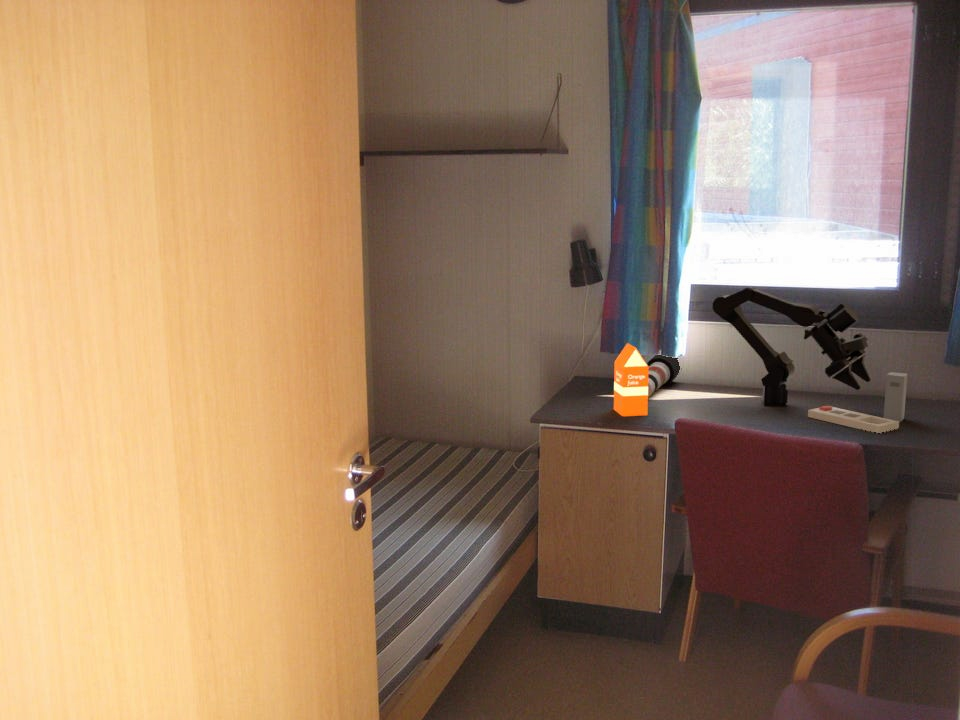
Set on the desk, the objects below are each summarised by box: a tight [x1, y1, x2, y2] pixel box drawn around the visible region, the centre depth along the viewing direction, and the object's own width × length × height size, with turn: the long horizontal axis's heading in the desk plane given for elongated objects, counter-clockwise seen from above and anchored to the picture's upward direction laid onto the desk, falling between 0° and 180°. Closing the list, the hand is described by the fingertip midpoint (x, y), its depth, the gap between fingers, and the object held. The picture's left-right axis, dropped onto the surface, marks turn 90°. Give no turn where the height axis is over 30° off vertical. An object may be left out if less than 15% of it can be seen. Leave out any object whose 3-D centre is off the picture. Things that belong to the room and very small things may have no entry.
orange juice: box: [613, 342, 649, 417], centre depth 270 cm, size 8×9×20 cm
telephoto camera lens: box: [646, 354, 680, 398], centre depth 299 cm, size 10×34×10 cm, turn 153°
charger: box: [883, 371, 908, 423], centre depth 260 cm, size 5×5×13 cm
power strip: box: [807, 405, 900, 434], centre depth 257 cm, size 22×9×3 cm, turn 33°
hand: (864, 385), depth 264 cm, fingers open, 9 cm apart
